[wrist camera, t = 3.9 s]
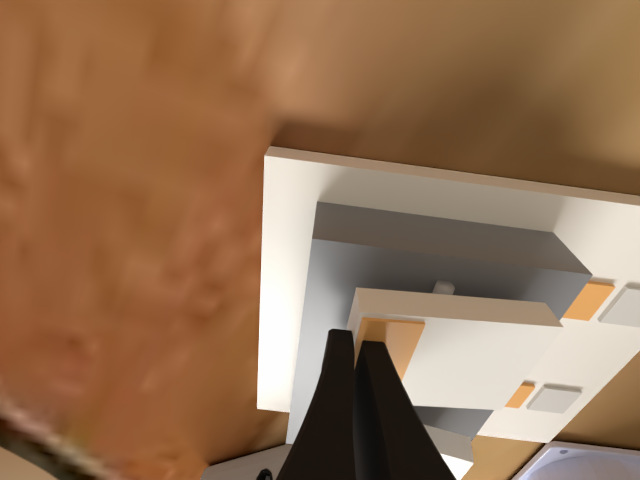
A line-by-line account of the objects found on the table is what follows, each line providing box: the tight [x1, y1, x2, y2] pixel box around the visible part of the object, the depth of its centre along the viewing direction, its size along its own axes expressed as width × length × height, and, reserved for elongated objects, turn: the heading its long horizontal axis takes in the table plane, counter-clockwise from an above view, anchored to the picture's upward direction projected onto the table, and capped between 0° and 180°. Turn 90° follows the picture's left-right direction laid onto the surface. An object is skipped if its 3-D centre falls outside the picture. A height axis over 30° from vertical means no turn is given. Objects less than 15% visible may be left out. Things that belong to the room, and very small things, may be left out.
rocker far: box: [423, 424, 474, 480], centre depth 15 cm, size 6×4×1 cm
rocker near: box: [346, 287, 564, 410], centre depth 11 cm, size 6×4×1 cm
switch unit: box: [257, 146, 640, 444], centre depth 16 cm, size 18×16×4 cm
